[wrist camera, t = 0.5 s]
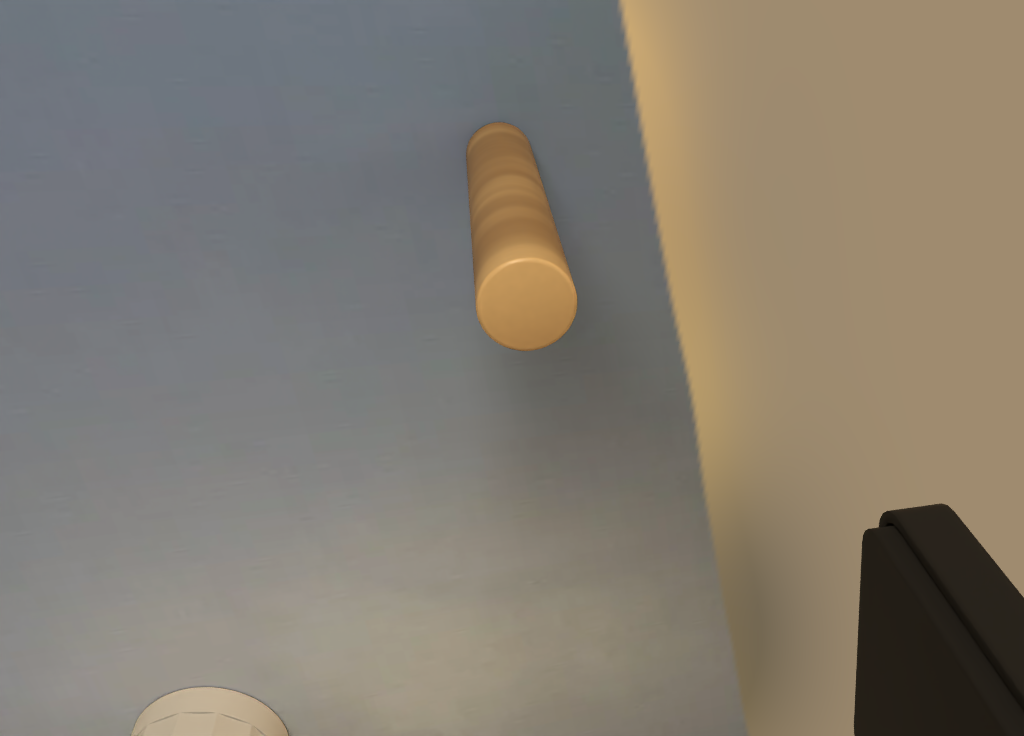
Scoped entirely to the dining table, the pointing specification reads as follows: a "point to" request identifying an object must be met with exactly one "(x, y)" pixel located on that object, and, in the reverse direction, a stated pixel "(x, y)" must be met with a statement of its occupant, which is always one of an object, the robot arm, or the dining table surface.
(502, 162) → the stick
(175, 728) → the cup
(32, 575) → the dining table surface
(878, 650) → the robot arm
